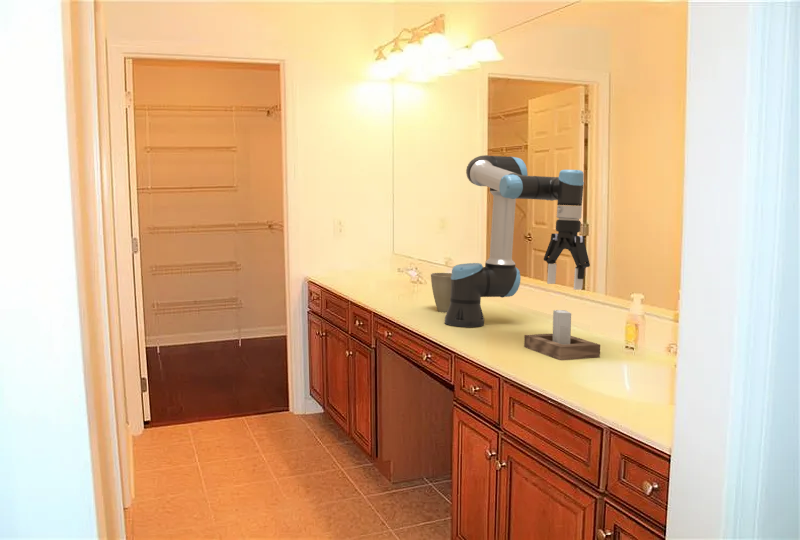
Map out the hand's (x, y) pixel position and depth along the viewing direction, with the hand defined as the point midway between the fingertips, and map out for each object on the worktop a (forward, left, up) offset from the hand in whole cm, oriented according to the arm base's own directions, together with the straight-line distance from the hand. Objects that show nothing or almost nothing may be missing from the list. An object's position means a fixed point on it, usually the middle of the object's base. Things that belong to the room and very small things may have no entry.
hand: (564, 286), depth 209 cm
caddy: (+1, -1, -21) cm, 21 cm away
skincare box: (+1, -1, -20) cm, 20 cm away
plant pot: (-81, +1, -21) cm, 84 cm away
